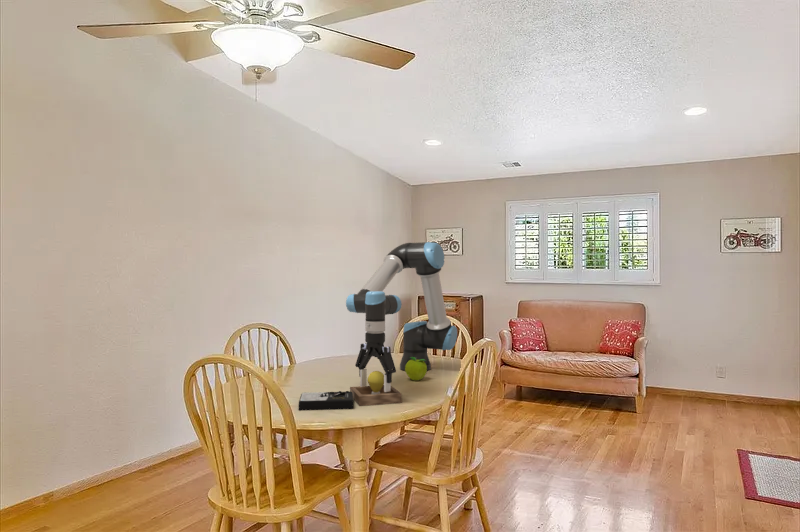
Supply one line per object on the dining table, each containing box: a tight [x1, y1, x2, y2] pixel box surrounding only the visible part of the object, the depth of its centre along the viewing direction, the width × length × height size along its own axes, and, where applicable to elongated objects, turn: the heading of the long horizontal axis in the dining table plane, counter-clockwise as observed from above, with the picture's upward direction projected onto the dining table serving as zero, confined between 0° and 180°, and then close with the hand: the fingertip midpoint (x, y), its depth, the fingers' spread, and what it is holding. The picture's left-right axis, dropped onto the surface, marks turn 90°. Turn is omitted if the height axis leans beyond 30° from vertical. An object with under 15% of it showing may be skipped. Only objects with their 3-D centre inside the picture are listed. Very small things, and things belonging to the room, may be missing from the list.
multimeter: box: [298, 390, 354, 411], centre depth 196 cm, size 13×19×5 cm
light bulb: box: [367, 370, 384, 395], centre depth 205 cm, size 7×7×10 cm
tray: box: [349, 385, 403, 407], centre depth 205 cm, size 16×16×3 cm
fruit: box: [404, 357, 428, 381], centre depth 239 cm, size 9×9×10 cm
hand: (375, 388), depth 205 cm, fingers open, 12 cm apart
